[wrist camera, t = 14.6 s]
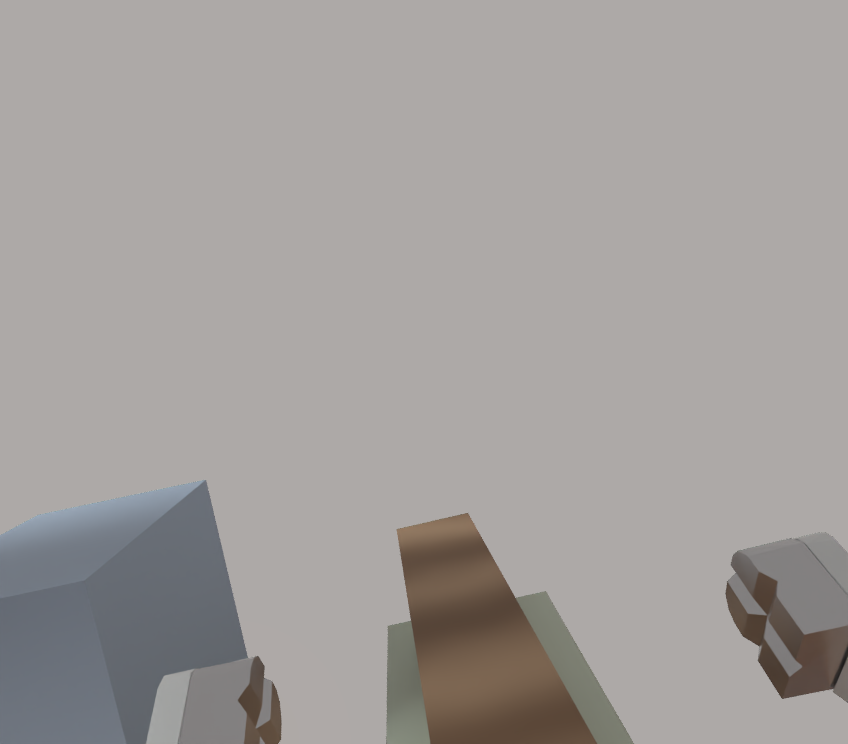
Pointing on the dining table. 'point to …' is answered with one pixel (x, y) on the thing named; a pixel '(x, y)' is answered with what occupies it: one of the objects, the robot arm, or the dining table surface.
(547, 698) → the walnut bar
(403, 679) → the pale green tall block
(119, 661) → the tower
